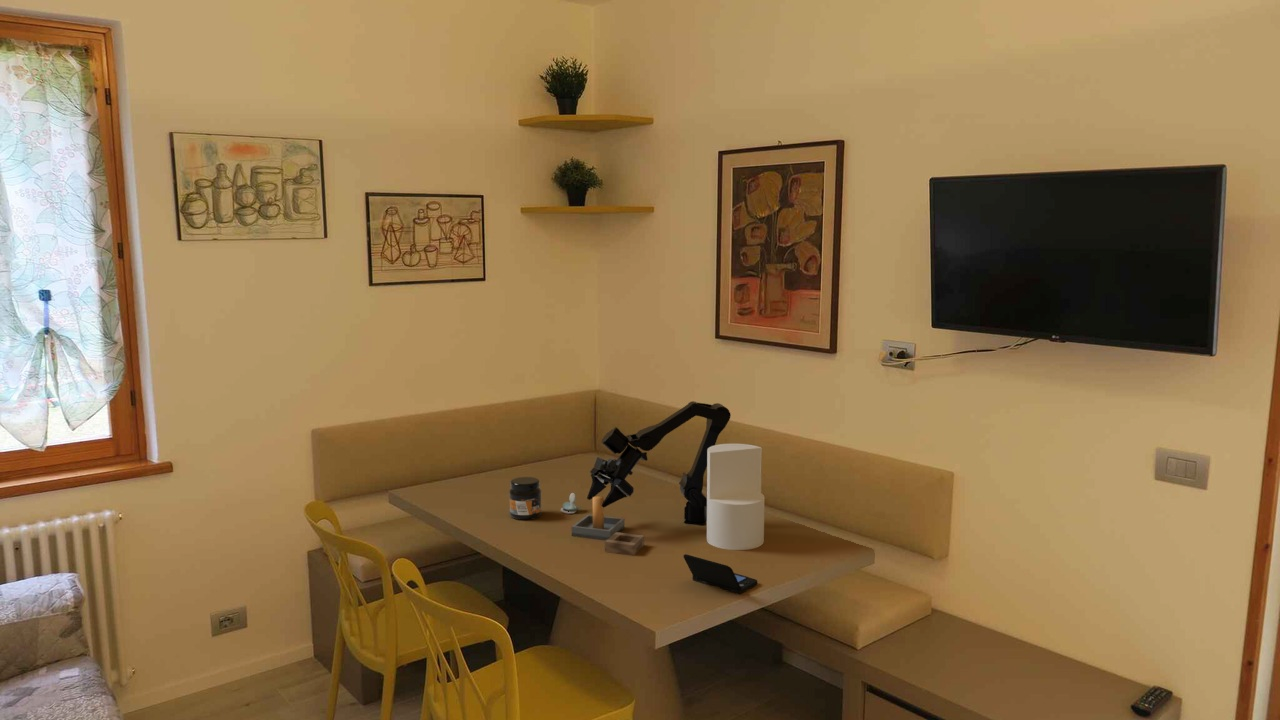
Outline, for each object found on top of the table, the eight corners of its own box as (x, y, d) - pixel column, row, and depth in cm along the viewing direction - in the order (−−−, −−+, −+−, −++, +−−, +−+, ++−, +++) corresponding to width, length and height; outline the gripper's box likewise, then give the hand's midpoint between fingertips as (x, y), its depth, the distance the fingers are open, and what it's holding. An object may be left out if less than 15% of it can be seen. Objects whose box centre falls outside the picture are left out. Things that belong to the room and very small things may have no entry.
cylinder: (697, 534, 274) (697, 446, 270) (747, 528, 280) (748, 441, 276) (721, 553, 258) (722, 459, 254) (774, 545, 264) (775, 454, 260)
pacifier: (569, 516, 293) (583, 512, 297) (568, 498, 292) (583, 494, 296) (556, 511, 298) (571, 507, 302) (555, 493, 297) (570, 489, 301)
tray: (624, 527, 280) (624, 518, 280) (609, 540, 269) (609, 531, 268) (587, 523, 285) (587, 514, 284) (571, 535, 273) (571, 526, 272)
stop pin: (605, 527, 277) (605, 496, 276) (601, 531, 274) (601, 499, 273) (595, 526, 279) (595, 495, 277) (591, 529, 275) (590, 498, 274)
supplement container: (520, 522, 286) (519, 486, 284) (503, 515, 294) (502, 479, 292) (547, 516, 292) (547, 481, 290) (530, 508, 300) (529, 474, 299)
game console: (759, 585, 235) (760, 552, 234) (730, 601, 225) (730, 567, 223) (712, 571, 245) (712, 539, 244) (681, 585, 235) (681, 553, 233)
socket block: (644, 545, 265) (644, 535, 264) (633, 555, 256) (633, 545, 256) (616, 541, 268) (616, 532, 267) (604, 551, 259) (604, 541, 259)
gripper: (594, 442, 283) (564, 480, 279) (625, 454, 267) (593, 495, 263) (616, 462, 288) (587, 501, 284) (647, 475, 272) (616, 516, 268)
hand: (595, 502), depth 275 cm, fingers open, 9 cm apart
